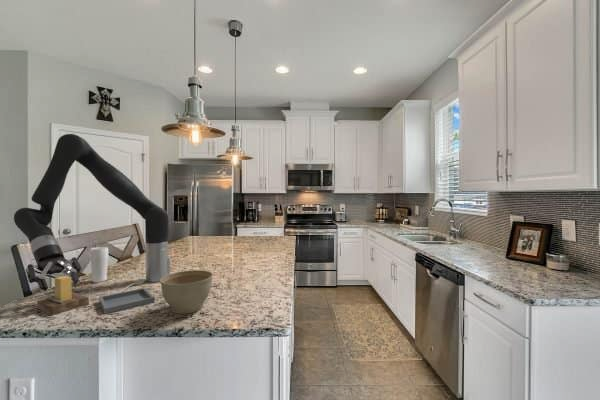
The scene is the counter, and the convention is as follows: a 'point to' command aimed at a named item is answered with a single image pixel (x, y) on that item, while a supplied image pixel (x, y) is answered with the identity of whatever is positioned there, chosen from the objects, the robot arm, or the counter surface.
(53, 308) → the brown wooden compartment tray
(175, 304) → the planter bowl
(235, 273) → the counter surface
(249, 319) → the counter surface
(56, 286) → the yellow rectangular block
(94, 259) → the drinking glass
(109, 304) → the tray
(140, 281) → the spoon
